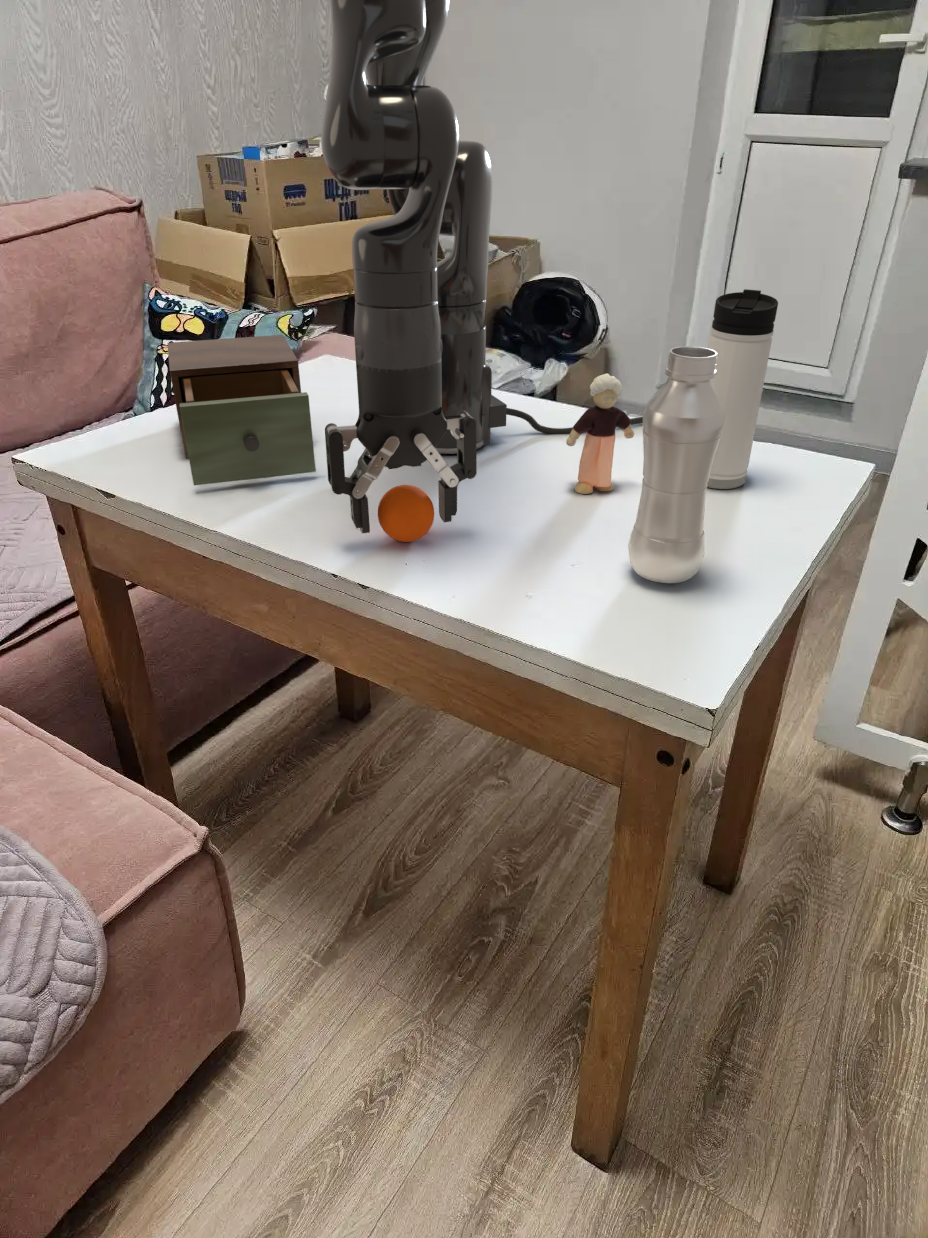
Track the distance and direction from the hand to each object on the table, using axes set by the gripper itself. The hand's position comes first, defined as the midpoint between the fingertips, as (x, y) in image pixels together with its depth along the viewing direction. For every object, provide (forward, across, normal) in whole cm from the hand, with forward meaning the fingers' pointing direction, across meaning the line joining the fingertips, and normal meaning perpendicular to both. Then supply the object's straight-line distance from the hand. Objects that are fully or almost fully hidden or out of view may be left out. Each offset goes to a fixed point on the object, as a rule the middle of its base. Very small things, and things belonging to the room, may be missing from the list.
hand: (404, 524), depth 82 cm
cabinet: (+1, +13, -36) cm, 38 cm away
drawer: (+1, +13, -24) cm, 27 cm away
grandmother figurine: (+2, -24, -6) cm, 25 cm away
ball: (+2, 0, 0) cm, 2 cm away
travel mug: (+2, -38, -4) cm, 38 cm away
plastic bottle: (+2, -21, +14) cm, 25 cm away
